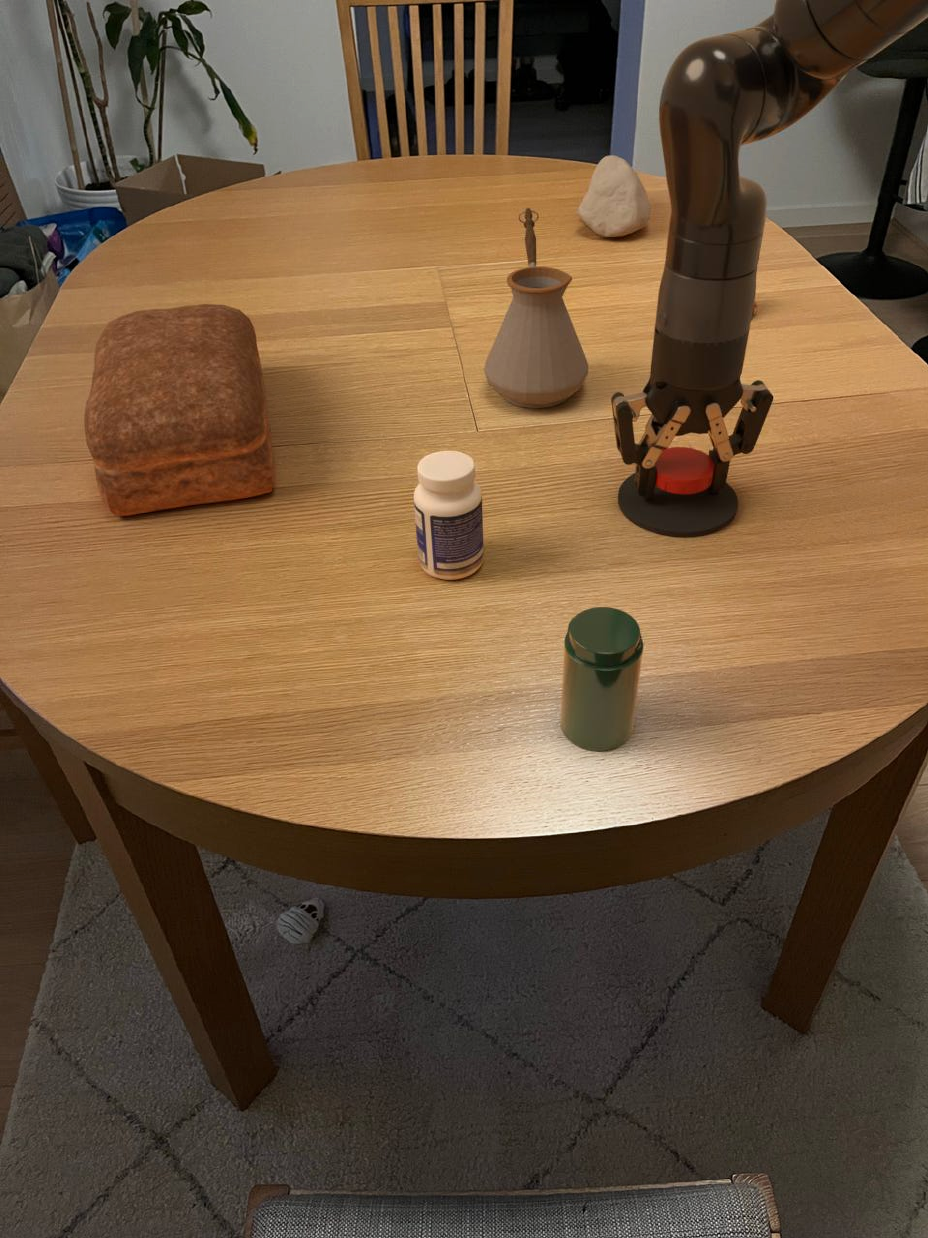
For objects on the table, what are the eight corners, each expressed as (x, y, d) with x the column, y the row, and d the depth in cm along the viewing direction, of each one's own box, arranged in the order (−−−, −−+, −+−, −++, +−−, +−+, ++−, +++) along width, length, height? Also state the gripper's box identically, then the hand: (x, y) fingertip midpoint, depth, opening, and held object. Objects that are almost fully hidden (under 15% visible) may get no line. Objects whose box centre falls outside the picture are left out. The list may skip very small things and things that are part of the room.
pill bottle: (496, 554, 82) (494, 457, 75) (461, 590, 79) (457, 491, 72) (441, 535, 84) (435, 439, 78) (405, 569, 81) (396, 472, 74)
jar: (635, 702, 68) (647, 608, 62) (629, 756, 65) (642, 661, 58) (565, 693, 69) (570, 599, 63) (555, 745, 65) (560, 651, 59)
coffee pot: (593, 415, 100) (602, 276, 90) (486, 419, 100) (483, 281, 90) (573, 329, 116) (578, 203, 106) (480, 332, 116) (478, 207, 106)
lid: (641, 486, 84) (643, 472, 83) (659, 455, 88) (661, 441, 87) (703, 500, 82) (705, 485, 81) (719, 467, 86) (721, 453, 85)
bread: (264, 365, 111) (246, 270, 103) (282, 501, 89) (260, 393, 82) (118, 384, 109) (89, 288, 101) (100, 528, 87) (60, 419, 80)
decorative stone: (660, 224, 134) (625, 161, 130) (601, 263, 139) (565, 204, 134) (657, 195, 148) (625, 137, 144) (602, 231, 152) (570, 177, 148)
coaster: (747, 483, 89) (749, 478, 89) (723, 548, 82) (724, 542, 81) (636, 461, 93) (636, 456, 92) (602, 521, 85) (603, 516, 85)
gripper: (773, 293, 78) (740, 465, 90) (605, 306, 78) (593, 478, 89) (807, 331, 73) (767, 509, 84) (626, 346, 72) (611, 524, 83)
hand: (678, 492), depth 86 cm, fingers closed on lid, 5 cm apart
